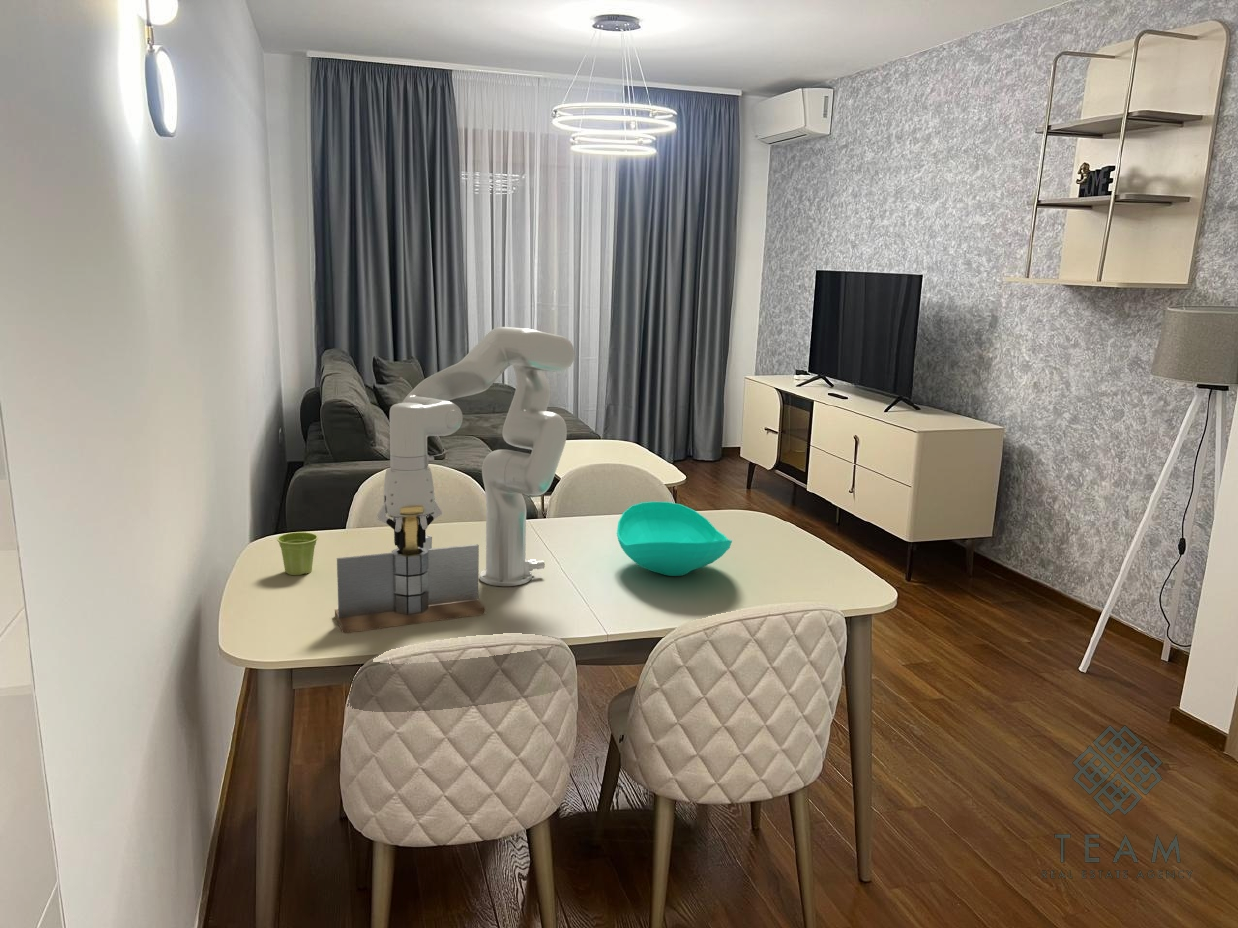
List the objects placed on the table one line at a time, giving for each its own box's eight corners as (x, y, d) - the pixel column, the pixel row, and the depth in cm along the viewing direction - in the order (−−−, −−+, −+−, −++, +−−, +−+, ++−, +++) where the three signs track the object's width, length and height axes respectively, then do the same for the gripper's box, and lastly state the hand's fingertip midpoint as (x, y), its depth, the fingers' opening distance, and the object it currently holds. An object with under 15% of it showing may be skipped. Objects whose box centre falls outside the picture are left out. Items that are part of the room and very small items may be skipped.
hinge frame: (422, 601, 207) (422, 545, 204) (431, 612, 201) (431, 554, 198) (335, 611, 199) (334, 553, 196) (341, 623, 193) (340, 563, 190)
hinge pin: (421, 559, 205) (420, 499, 202) (429, 568, 199) (428, 506, 196) (392, 563, 202) (390, 502, 199) (398, 572, 196) (397, 509, 193)
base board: (471, 599, 213) (471, 592, 213) (484, 614, 205) (484, 607, 204) (334, 616, 200) (334, 609, 200) (343, 632, 192) (343, 625, 191)
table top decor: (750, 595, 222) (754, 541, 220) (636, 600, 216) (638, 545, 213) (700, 546, 260) (703, 500, 257) (602, 550, 254) (603, 502, 251)
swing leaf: (397, 614, 197) (396, 557, 195) (390, 603, 204) (389, 548, 201) (482, 603, 206) (483, 549, 203) (473, 593, 212) (473, 540, 209)
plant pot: (323, 566, 233) (322, 532, 231) (313, 578, 224) (311, 543, 222) (285, 565, 233) (284, 531, 231) (273, 577, 223) (271, 542, 222)
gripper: (443, 456, 203) (443, 538, 206) (364, 461, 196) (366, 546, 199) (452, 463, 196) (453, 548, 200) (372, 468, 189) (374, 556, 193)
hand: (410, 546), depth 200 cm, fingers closed on hinge pin, 3 cm apart
